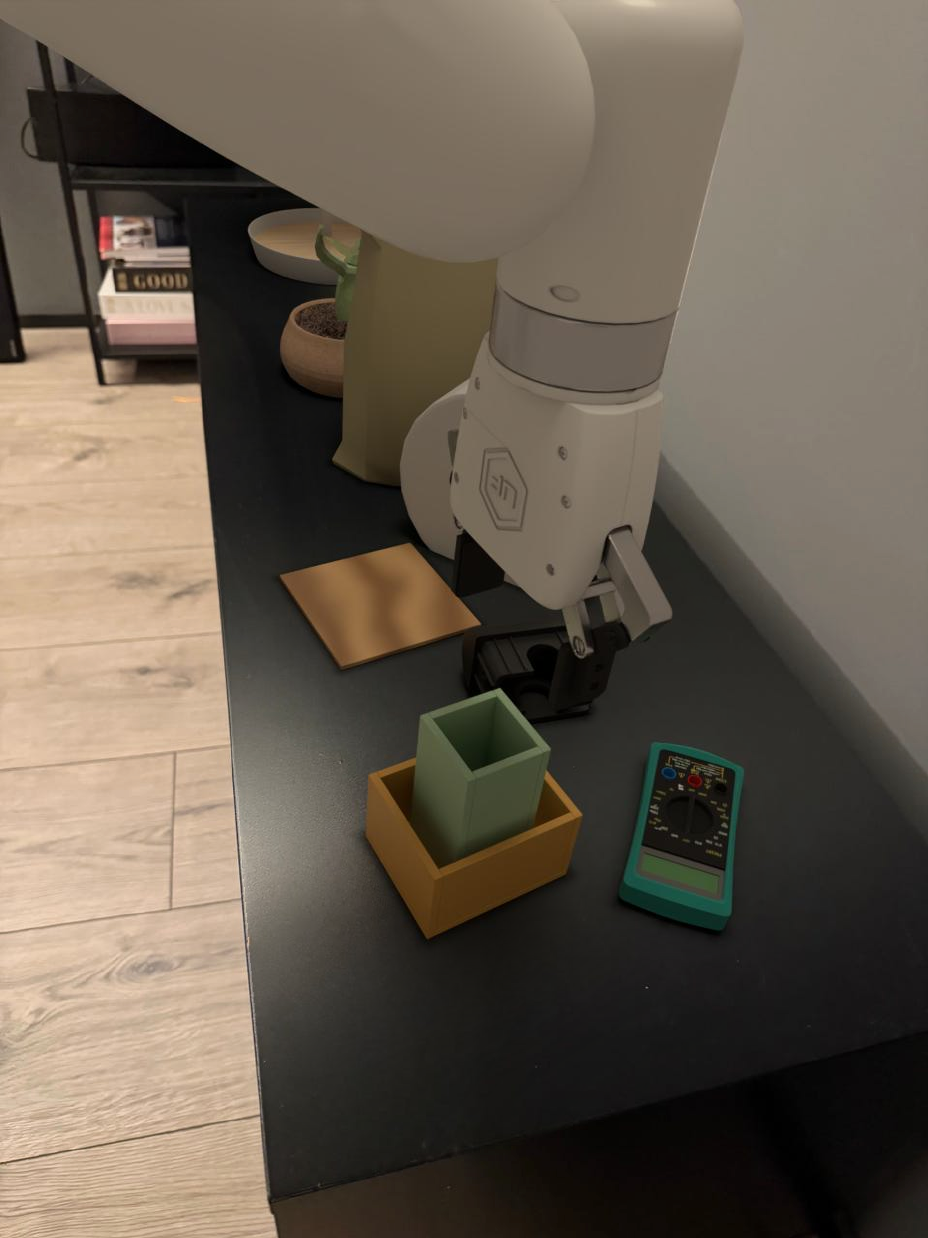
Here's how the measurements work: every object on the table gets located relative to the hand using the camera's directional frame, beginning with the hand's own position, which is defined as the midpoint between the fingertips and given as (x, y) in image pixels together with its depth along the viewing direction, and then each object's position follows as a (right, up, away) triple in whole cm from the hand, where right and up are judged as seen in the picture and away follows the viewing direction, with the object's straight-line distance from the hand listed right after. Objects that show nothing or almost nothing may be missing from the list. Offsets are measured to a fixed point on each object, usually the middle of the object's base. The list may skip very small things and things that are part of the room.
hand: (523, 640), depth 49 cm
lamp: (-26, +62, +107) cm, 127 cm away
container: (-7, +20, +59) cm, 63 cm away
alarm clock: (+1, +8, +45) cm, 46 cm away
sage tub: (-3, -15, +16) cm, 22 cm away
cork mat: (-11, +3, +37) cm, 39 cm away
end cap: (+2, -5, +29) cm, 30 cm away
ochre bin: (-3, -15, +16) cm, 22 cm away
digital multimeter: (+13, -15, +19) cm, 27 cm away
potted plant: (-16, +33, +74) cm, 83 cm away
